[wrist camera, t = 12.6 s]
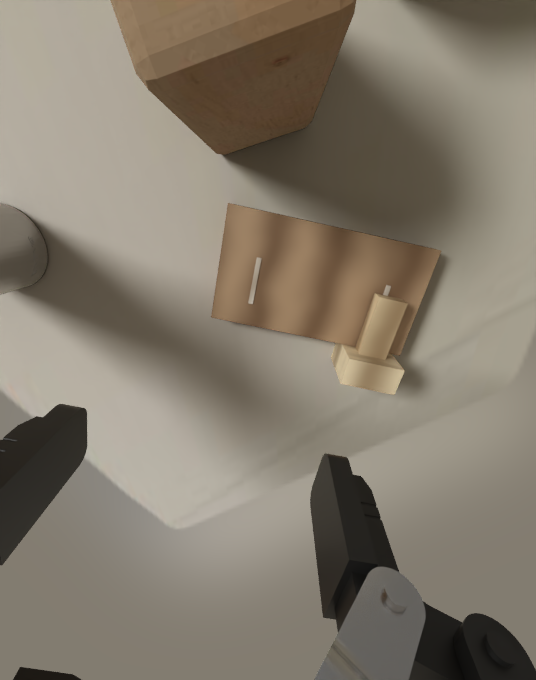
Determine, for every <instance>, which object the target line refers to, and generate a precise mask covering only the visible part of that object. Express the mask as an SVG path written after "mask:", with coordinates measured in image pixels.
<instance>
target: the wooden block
mask: <svg viewBox="0 0 536 680" xmlns="http://www.w3.org/2000/svg"><path fill="white" fill-rule="evenodd" d="M111 3H112V6H113V9H114V12H115V15H116V17H117V20H118V23H119V26H120V29H121V32H122V34H123V37H124V40H125V43H126V46H127V49H128V52H129V54H130V57H131V60H132V63H133V66H134V69H135V71H136V74H137V75H138V77H139V78H140V79H141V80H142V82H143V83H144V84H145V86H146V87H147V88H148V90H149V91H150V92H152V93H153V94H154V95H155V96H156V97H157V98H158V99H159V100H160V101H161V102H162V103H163V104H164V105H165V106H166V107H168V108H169V109H170V110H171V111H172V112H173V113H174V114H175V115H176V116H177V117H178V118H179V119H180V120H181V121H182V122H184V123H185V124H186V125H187V126H188V127H189V128H190V129H191V130H192V131H193V132H194V133H195V134H196V135H197V136H198V137H200V138H201V139H202V140H203V141H204V142H205V143H206V144H207V145H208V146H209V147H210V148H211V149H212V150H213V151H214V152H215V153H217V154H223V155H225V154H228V153H231V152H234V151H237V150H240V149H243V148H246V147H249V146H252V145H255V144H258V143H261V142H264V141H267V140H270V139H273V138H276V137H279V136H282V135H285V134H288V133H291V132H294V131H297V130H300V129H303V128H305V127H306V126H307V125H309V124H310V123H311V122H312V119H313V117H314V114H315V111H316V109H317V106H318V104H319V101H320V99H321V96H322V94H323V91H324V89H325V86H326V83H327V81H328V78H329V76H330V73H331V71H332V68H333V66H334V63H335V60H336V58H337V55H338V53H339V50H340V48H341V45H342V43H343V40H344V37H345V35H346V32H347V30H348V27H349V25H350V22H351V20H352V17H353V14H354V10H355V4H356V0H111Z"/></svg>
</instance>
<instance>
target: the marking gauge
mask: <svg viewBox="0 0 536 680" xmlns="http://www.w3.org/2000/svg"><path fill="white" fill-rule="evenodd" d="M407 305H408V303H406V302H405V301H403V300H402V299H399V298H394V297H390V296H386V295H381V294H377V293H375V294H374V296H373V299H372V302H371V305H370V308H369V311H368V313H367V316H366V319H365V322H364V325H363V327H362V330H361V333H360V336H359V339H358V341H357V344H356V347H354V346H350V345H345V344H340V343H336V344H335V347H334V351H333V354H332V357H331V359H332V361H333V364H334V367H335V370H336V372H337V375H338V378H339V381H340V383H341V384H345V385H349V386H354V387H359V388H364V389H368V390H373V391H378V392H382V393H387V394H392V395H395V392H396V390H397V388H398V386H399V383H400V381H401V379H402V376H403V374H404V372H405V370H404V369H403V368H402V367H401V365H400V364H399V363H398V362H397V360H396V359H395V358H394V357H393V355H392V354H389V353H388V352H389V350H390V347H391V345H392V342H393V340H394V337H395V335H396V332H397V330H398V327H399V325H400V322H401V320H402V317H403V315H404V312H405V310H406V307H407Z"/></svg>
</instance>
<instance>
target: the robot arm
mask: <svg viewBox="0 0 536 680" xmlns="http://www.w3.org/2000/svg"><path fill="white" fill-rule="evenodd" d="M47 259H48V254H47V248H46V244H45V242H44V239H43V237H42V235H41V233H40V231H39V230H38V228H37V227H36V226H35V224H34V223H33V222H32V221H31V220H30V219H29V218H28V217H27V216H26V215H25V214H23V213H22V212H20V211H19V210H17V209H16V208H14V207H11V206H9V205H6V204H2V203H0V295H1V294H4V293H7V292H11V291H14V290H17V289H20V288H24V287H27V286H30V285H32V284H34V283H36V282H37V281H38V280H39V279H40V278H41V277H42V275H43V274H44V272H45V270H46V266H47ZM86 449H87V411H86V409H85V408H81V407H75V406H70V405H64V404H59V405H57V406H56V407H54V408H53V409H52V410H51V411H50V412H49V413H48V414H46V415H45V416H44V417H35V418H33V419H31V420H29V421H26V422H24V423H22V424H20V425H18V426H17V427H16V428H15V429H13V430H12V431H11V432H10V433H8V434H7V435H6V436H5V437H4V438H3V440H0V565H3V563H4V562H5V561H6V559H7V558H8V557H9V556H10V554H11V553H12V552H13V550H14V549H15V548H16V547H17V545H18V544H19V543H20V542H21V540H22V539H23V537H24V536H25V535H26V534H27V532H28V531H29V530H30V529H31V527H32V526H33V525H34V523H35V522H36V521H37V520H38V518H39V517H40V516H41V514H42V513H43V512H44V510H45V509H46V508H47V507H48V505H49V504H50V503H51V501H52V500H53V499H54V498H55V496H56V495H57V494H58V492H59V491H60V490H61V489H62V487H63V486H64V485H65V483H66V482H67V481H68V479H69V478H70V477H71V476H72V474H73V473H74V472H75V470H76V469H77V468H78V467H79V465H80V464H81V462H82V460H83V458H84V456H85V453H86ZM310 501H311V502H310V504H311V515H312V523H313V532H314V541H315V550H316V559H317V568H318V575H319V585H320V594H321V602H322V612H323V617H324V618H330V619H336V622H337V629H338V634H337V636H336V638H335V641H334V642H333V644H332V646H331V648H330V650H329V652H328V654H327V656H326V658H325V659H324V661H323V663H322V665H321V667H320V669H319V671H318V673H317V675H316V677H315V679H314V680H536V670H535V668H534V666H533V664H532V662H531V660H530V658H529V657H528V655H527V653H526V651H525V650H524V649H523V647H522V646H521V644H520V643H519V642H518V640H517V639H516V638H515V637H514V636H513V635H512V634H511V633H510V632H509V631H508V630H507V629H506V628H505V627H504V626H503V625H501V624H500V623H499V622H497V621H496V620H494V619H492V618H490V617H488V616H486V615H483V614H477V613H474V614H471V615H468V616H467V617H466V618H465V620H464V621H463V623H462V622H460V621H458V620H456V619H454V618H452V617H450V616H448V615H446V614H444V613H443V612H441V611H439V610H437V609H435V608H433V607H431V606H429V605H427V604H426V603H425V602H423V601H422V598H421V596H420V594H419V593H418V591H417V589H416V588H415V587H414V585H413V584H412V583H411V582H410V581H409V580H408V579H407V578H406V577H405V576H403V575H402V574H401V573H400V572H399V570H398V568H397V565H396V561H395V559H394V556H393V553H392V550H391V547H390V544H389V541H388V538H387V535H386V532H385V529H384V526H383V523H382V521H381V520H380V514H379V511H378V508H376V502H375V500H374V496H373V494H372V490H371V489H370V488H369V486H368V485H367V483H366V482H365V481H364V479H363V478H362V477H361V476H357V475H353V474H352V471H351V467H350V463H349V460H348V458H346V457H342V456H336V455H331V454H324V455H323V457H322V460H321V463H320V466H319V469H318V472H317V475H316V478H315V480H314V483H313V486H312V491H311V499H310ZM13 680H81V679H79V678H78V677H76V676H74V675H72V674H66V673H59V672H52V671H44V670H38V669H30V668H23V667H20V668H19V670H18V672H17V674H16V676H15V677H14V679H13Z"/></svg>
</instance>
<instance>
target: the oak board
mask: <svg viewBox="0 0 536 680" xmlns="http://www.w3.org/2000/svg"><path fill="white" fill-rule="evenodd" d="M440 253H441V251H440V250H436V249H432V248H428V247H423V246H419V245H414V244H410V243H405V242H401V241H396V240H392V239H388V238H383V237H379V236H374V235H370V234H365V233H361V232H356V231H352V230H347V229H343V228H338V227H334V226H329V225H325V224H320V223H316V222H311V221H307V220H302V219H298V218H293V217H289V216H284V215H280V214H275V213H271V212H266V211H262V210H257V209H253V208H248V207H244V206H239V205H235V204H230V203H228V207H227V214H226V221H225V228H224V234H223V241H222V248H221V255H220V262H219V268H218V275H217V282H216V289H215V296H214V302H213V309H212V316H211V317H212V318H217V319H222V320H227V321H232V322H236V323H241V324H246V325H251V326H256V327H261V328H266V329H271V330H276V331H281V332H286V333H291V334H295V335H300V336H305V337H310V338H315V339H320V340H325V341H330V342H335V343H340V344H345V345H350V346H354V347H356V344H357V341H358V339H359V336H360V333H361V330H362V327H363V325H364V322H365V319H366V316H367V313H368V311H369V308H370V305H371V302H372V299H373V296H374V294H375V293H377V294H381V295H386V296H390V297H394V298H399V299H402V300H403V301H405V302H406V303H408V305H407V307H406V310H405V312H404V315H403V317H402V320H401V322H400V325H399V327H398V330H397V332H396V335H395V337H394V340H393V342H392V345H391V347H390V350H389V352H388V353H389V354H394V355H399V356H400V354H401V351H402V349H403V346H404V344H405V341H406V339H407V336H408V334H409V331H410V329H411V326H412V323H413V321H414V318H415V316H416V313H417V311H418V308H419V306H420V303H421V301H422V298H423V296H424V293H425V291H426V288H427V286H428V283H429V281H430V278H431V276H432V273H433V271H434V268H435V266H436V263H437V261H438V258H439V256H440Z"/></svg>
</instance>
